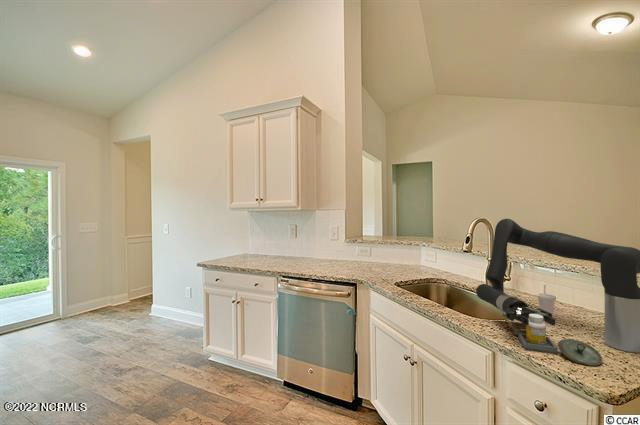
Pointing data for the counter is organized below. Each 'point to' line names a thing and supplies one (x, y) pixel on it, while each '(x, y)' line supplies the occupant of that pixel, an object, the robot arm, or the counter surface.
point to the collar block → (518, 325)
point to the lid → (580, 352)
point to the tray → (548, 348)
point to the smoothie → (546, 301)
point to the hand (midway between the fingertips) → (540, 322)
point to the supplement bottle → (536, 330)
